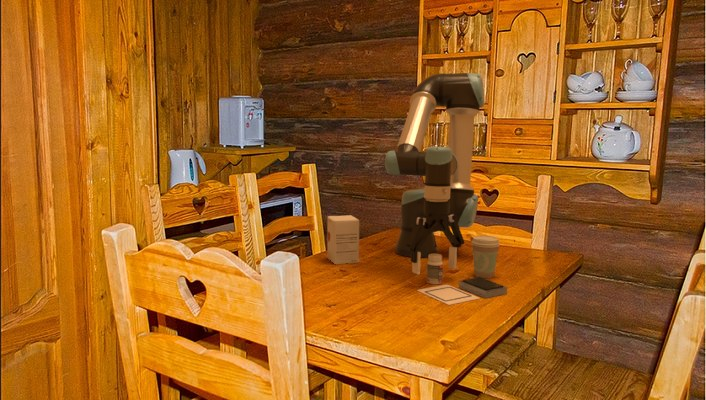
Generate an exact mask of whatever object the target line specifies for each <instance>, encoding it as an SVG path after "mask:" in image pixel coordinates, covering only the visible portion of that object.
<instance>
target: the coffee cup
mask: <svg viewBox="0 0 706 400" xmlns="http://www.w3.org/2000/svg"><path fill="white" fill-rule="evenodd" d="M471 245H472V256H473V269H474V270H473V271H474V276H475V278H477V277H481V278H484V279H492V278H494V277H495V271H496V266H497V265H496V264H497V259H498V254H499V253H498V251H499V247H500V246H501V245H500V241H499V238H498V237H495V236H491V235H477V236H474V237H472V240H471Z"/></svg>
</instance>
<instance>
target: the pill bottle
mask: <svg viewBox="0 0 706 400" xmlns="http://www.w3.org/2000/svg"><path fill="white" fill-rule="evenodd" d="M427 259H428V261H426V283H427V284H430V285H440V284H441V285H442V283H443V280H444V279H443V277H444V263H443V261H442V260H443V255H442V254H441V253H437V254H429V255H428V257H427Z"/></svg>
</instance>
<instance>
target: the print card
mask: <svg viewBox="0 0 706 400" xmlns="http://www.w3.org/2000/svg"><path fill="white" fill-rule="evenodd" d="M416 291H417V292H419V293H421V294H423V295H425V296H427V297H430V298H431V299H434V300H437V301H438V302H441V303H443V304H445V305H447V306H451V305H452V306H453V305H457V304H462V303H466V302H472V301H475V300H480V299H481V297H480V296H476V295H475V294H473V293H470V292H468V291H467V292H466V291H465V290H463V289H462V290H461V289H460V288H456V287H454V286H452V285H450V284H441V285H436V286H432V287H431V286H430V287H426V288H421V289H416Z"/></svg>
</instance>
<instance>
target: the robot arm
mask: <svg viewBox="0 0 706 400" xmlns="http://www.w3.org/2000/svg"><path fill="white" fill-rule="evenodd" d="M409 106H410V107H409V110H408V114H407V117H406V120H405V122H404V125H403V128H402V132H401V133H400V138H399V140H398V143H397V146H396V150H388V151H387V152H386V154H385V157H384V168H385V170H386V174H389V175H394V176H416V177H419V176H420V177H421V176H422V177H424V188H423V187H422V188H415V189H408V190H406V191H403V193H402V195H401V203H400V205H401V207H400V208H401V210H400V211H401V212H400V233H399V236H398V238H397V243H396V244H395V253H396V254H397V255H401V256H403V257H410V261H411V263H412V267H411V268H412V270H411V272H412V273H413V274H415V275H420V274H421V258H428V255H429V254H439V251H438V250H439V249H438V248H439V247H438V244H437V240H436V237H435V234H434V233H435V232H436V233H437V232H442V233H443V234H444V235H445V237H446V239H447V240H448V241H449V243H450V245H449V247H448V268H450V269H454V270H456V269H457V259H458V257H459V248H462V245H464V244H465V240H464V237H463V234H462V231H461V229H460V228H470V227H471V226H473V225H474V222H475V219H476V215H477V210H478V204H479V196H478V195H477V194H475V189H474V188H473V186H472V185H471V177H472V162H473V161H472V160H473V147H474V146H473V144H474V129H475V118H476V116H477V115H478V114H479V113H480V108H483V107H485V90H484V82H483V78H482V76H481V74H479V73H478V72H477V73H474V72H473V73H471V72H456V73H435V74H432V75H429V76H428V77H426V78H425V79H423V80H422V81H421V82H420V83H419V84H417V86H416V87H415V88H414V90H413V91H412V93H411V95H410V99H409ZM439 107H443V108H444V107H445V113H447V114H448V116H449V122H448V123H449V124H448V126H449V127H448V139H447V147H446V146H428V147H427V148H426V150H425V151H421V149H422V145H423V143H424V140H425V139H424V138H425V136H426V133H427V129H428V126H429V122H430V119H431V116H432V113H433V112H434V111H435V110H436V109H437V108H439Z"/></svg>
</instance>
